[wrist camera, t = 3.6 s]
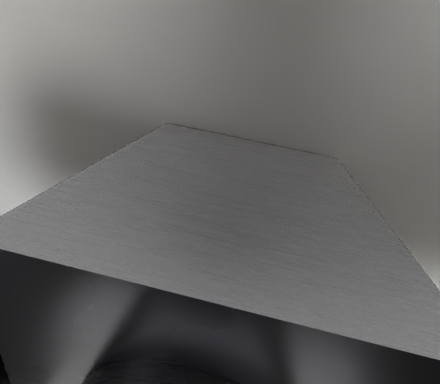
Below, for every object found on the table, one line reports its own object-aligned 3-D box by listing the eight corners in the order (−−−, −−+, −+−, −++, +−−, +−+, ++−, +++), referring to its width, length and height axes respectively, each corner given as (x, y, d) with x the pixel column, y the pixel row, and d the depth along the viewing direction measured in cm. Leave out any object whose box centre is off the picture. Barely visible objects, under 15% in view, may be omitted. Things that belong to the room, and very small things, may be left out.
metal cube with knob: (156, 254, 12) (-33, 578, 4) (166, 122, 9) (-281, 373, 2) (287, 286, 12) (327, 704, 4) (337, 158, 9) (755, 701, 1)
